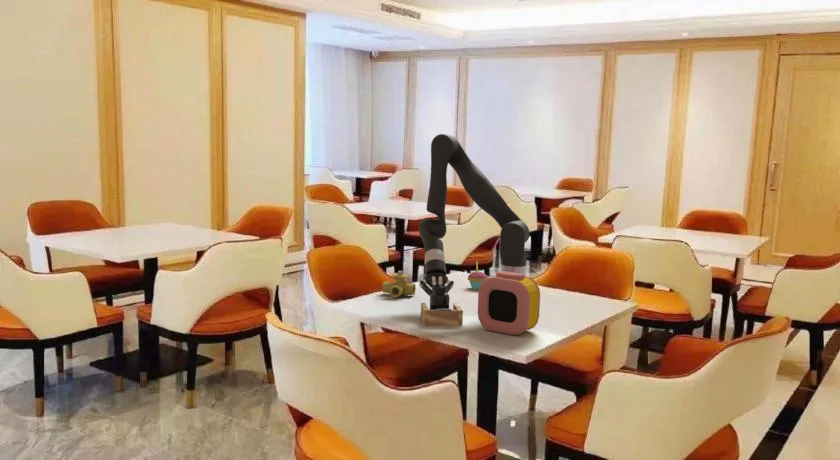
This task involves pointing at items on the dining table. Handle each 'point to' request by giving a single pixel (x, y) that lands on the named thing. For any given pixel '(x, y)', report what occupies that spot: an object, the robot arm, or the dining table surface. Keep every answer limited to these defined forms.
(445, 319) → the frame
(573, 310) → the dining table surface
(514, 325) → the alarm clock
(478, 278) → the cupcake
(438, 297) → the supplement bottle
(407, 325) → the dining table surface
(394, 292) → the ball valve
